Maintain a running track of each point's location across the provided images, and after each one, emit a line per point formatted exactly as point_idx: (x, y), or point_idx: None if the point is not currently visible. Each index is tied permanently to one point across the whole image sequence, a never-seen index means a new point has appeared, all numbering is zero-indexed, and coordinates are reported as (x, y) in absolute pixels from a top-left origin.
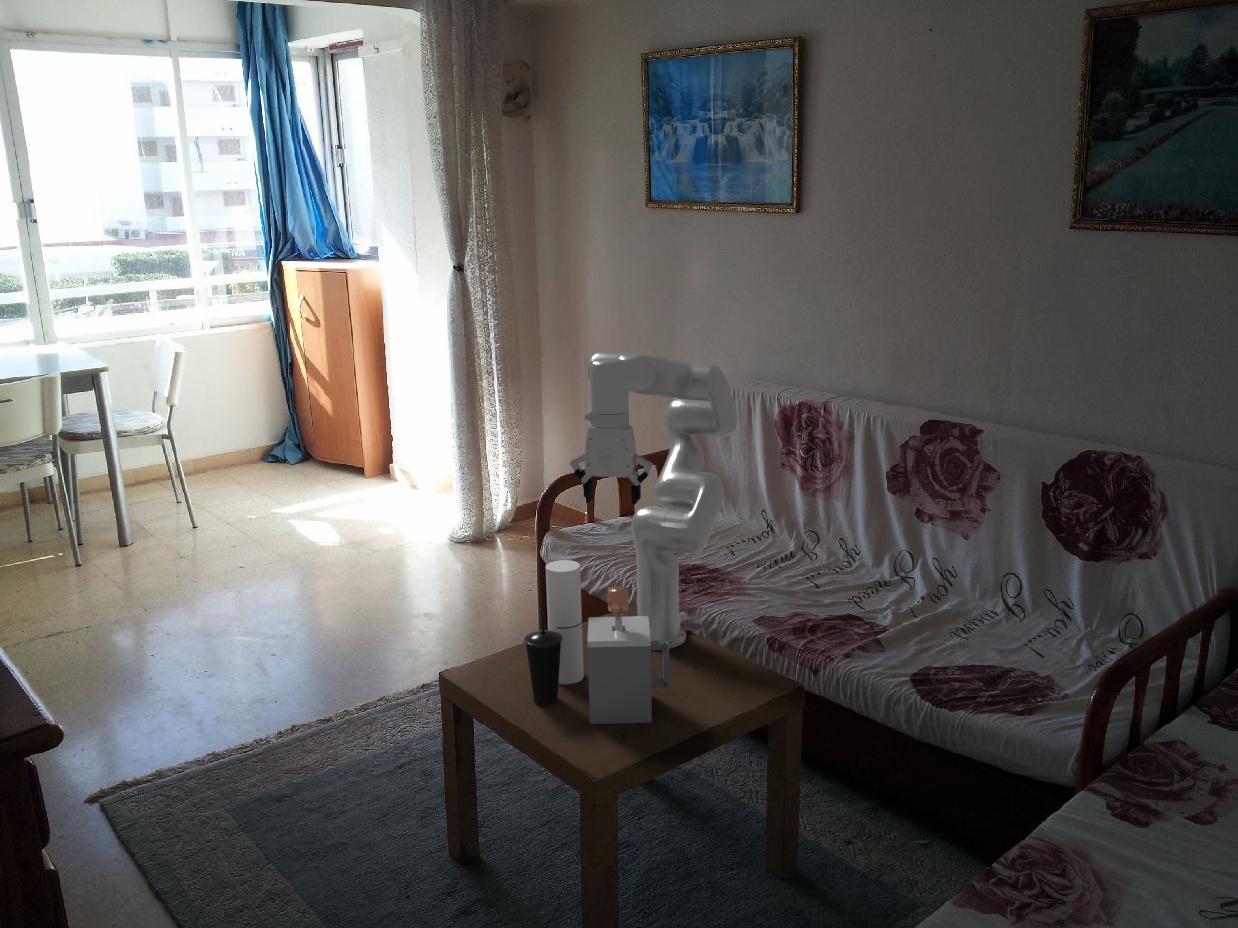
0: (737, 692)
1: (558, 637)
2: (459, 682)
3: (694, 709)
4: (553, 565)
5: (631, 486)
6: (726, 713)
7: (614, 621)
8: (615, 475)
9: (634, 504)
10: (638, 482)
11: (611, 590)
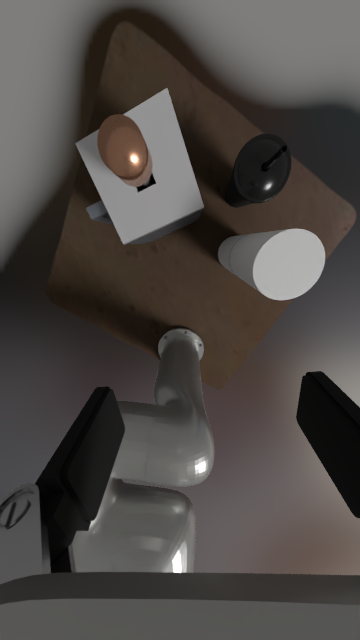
0: (81, 273)
1: (239, 175)
2: (341, 201)
3: (98, 227)
4: (308, 263)
5: (67, 475)
6: (70, 229)
7: (160, 204)
8: (117, 615)
9: (101, 387)
10: (2, 516)
11: (130, 131)
